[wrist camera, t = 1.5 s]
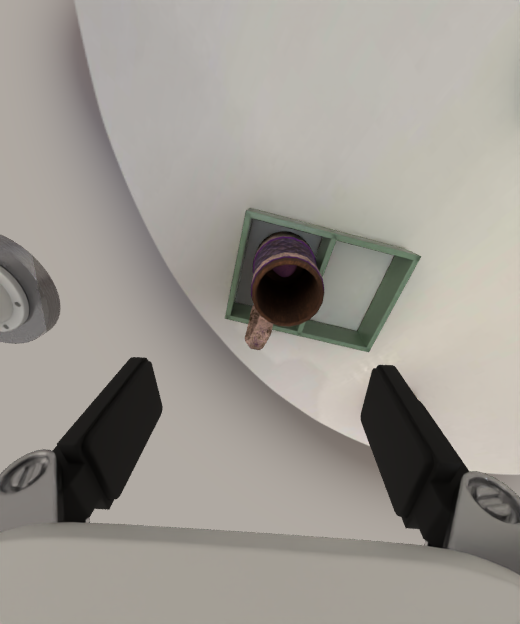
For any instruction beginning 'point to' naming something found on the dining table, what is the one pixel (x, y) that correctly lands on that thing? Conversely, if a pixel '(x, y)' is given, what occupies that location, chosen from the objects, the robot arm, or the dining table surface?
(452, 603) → the robot arm
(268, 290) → the mug
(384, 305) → the divided box
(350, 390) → the dining table surface
